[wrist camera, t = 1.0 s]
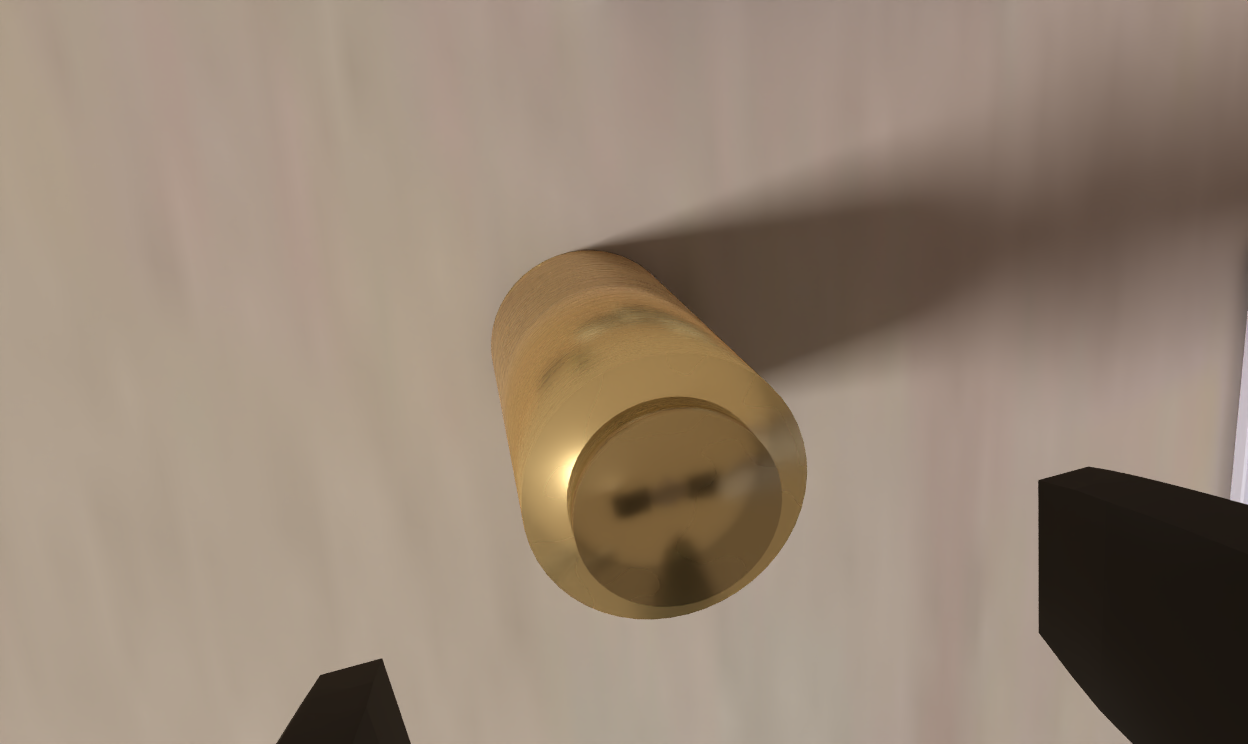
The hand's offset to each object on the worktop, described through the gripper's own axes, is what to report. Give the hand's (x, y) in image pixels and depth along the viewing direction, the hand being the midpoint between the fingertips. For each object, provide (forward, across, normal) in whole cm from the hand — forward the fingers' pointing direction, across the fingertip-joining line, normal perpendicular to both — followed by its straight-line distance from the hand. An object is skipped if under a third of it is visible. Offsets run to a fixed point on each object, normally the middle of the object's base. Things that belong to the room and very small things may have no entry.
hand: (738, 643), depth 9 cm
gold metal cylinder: (+10, 0, 0) cm, 10 cm away
